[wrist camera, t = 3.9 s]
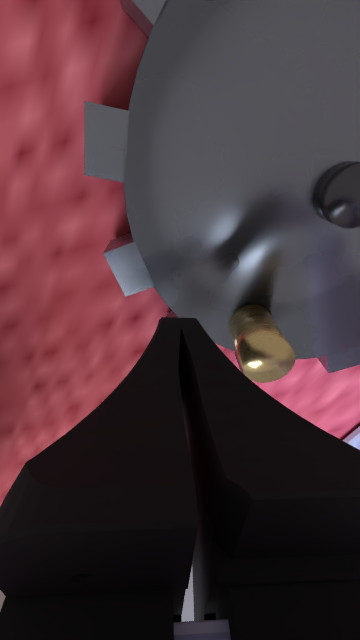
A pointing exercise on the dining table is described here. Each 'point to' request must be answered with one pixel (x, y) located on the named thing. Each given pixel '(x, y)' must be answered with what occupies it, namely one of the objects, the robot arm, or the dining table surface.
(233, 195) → the sprocket
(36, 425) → the dining table surface
